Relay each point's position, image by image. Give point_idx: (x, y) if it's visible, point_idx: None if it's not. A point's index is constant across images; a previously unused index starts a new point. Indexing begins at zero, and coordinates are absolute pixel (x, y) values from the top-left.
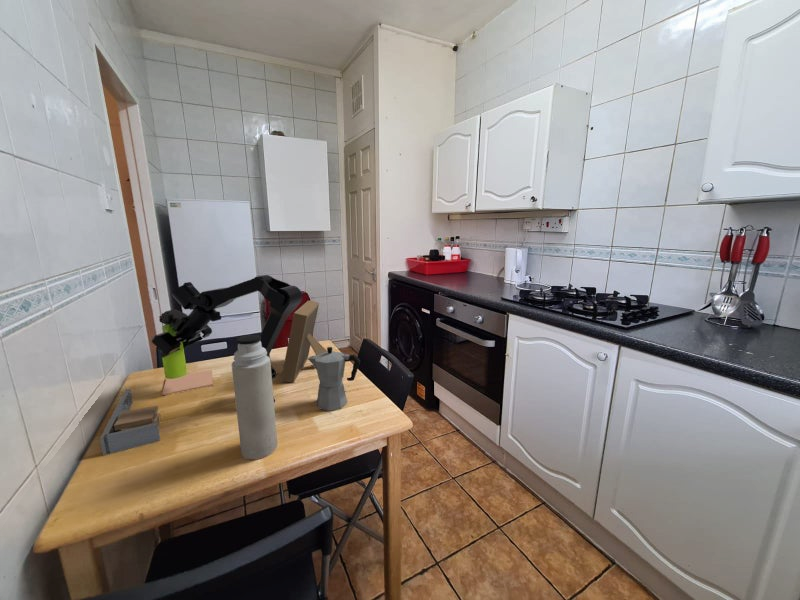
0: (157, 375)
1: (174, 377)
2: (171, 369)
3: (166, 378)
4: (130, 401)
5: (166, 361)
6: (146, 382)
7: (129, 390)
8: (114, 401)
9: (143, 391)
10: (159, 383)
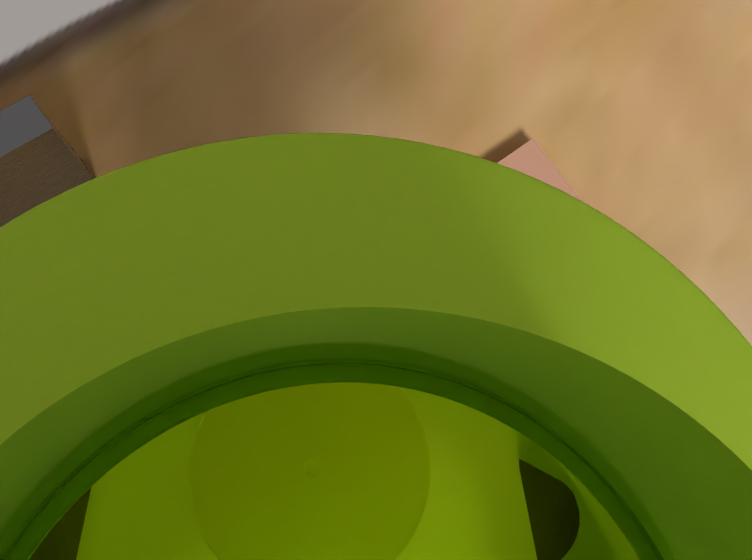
0: (586, 8)
1: (198, 540)
2: (168, 543)
3: (522, 146)
4: (12, 212)
5: (115, 510)
6: (452, 18)
7: (2, 156)
8: (107, 29)
9: (292, 121)
10: (448, 139)
